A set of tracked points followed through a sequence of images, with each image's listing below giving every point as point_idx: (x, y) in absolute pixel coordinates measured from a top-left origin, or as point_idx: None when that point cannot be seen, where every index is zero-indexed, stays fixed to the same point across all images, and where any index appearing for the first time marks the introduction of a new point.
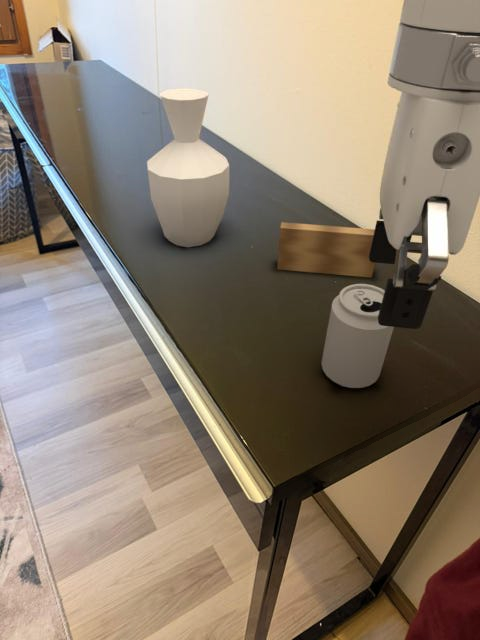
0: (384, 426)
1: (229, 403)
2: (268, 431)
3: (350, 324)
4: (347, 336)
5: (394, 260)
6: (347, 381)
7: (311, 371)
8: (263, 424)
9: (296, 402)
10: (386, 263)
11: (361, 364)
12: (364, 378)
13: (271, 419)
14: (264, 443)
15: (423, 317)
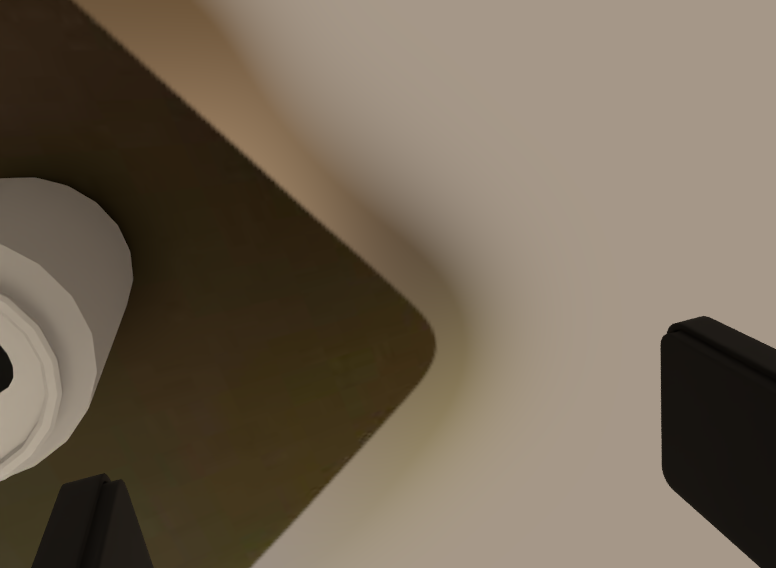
0: (222, 138)
1: (293, 501)
2: (341, 398)
3: (89, 393)
4: (100, 369)
5: (133, 537)
6: (129, 272)
7: None
8: (325, 414)
9: (229, 368)
10: (148, 555)
11: (110, 266)
12: (110, 231)
13: (305, 404)
14: (375, 394)
15: (747, 337)
